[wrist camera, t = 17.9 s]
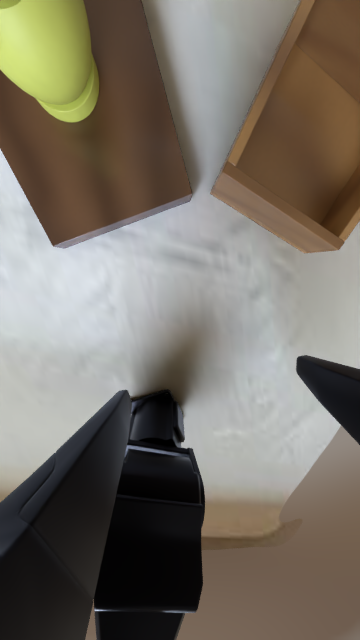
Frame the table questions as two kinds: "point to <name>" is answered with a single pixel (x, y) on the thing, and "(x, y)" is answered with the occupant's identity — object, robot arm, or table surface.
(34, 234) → the table surface
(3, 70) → the pear
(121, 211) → the walnut board
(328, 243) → the wooden tray
